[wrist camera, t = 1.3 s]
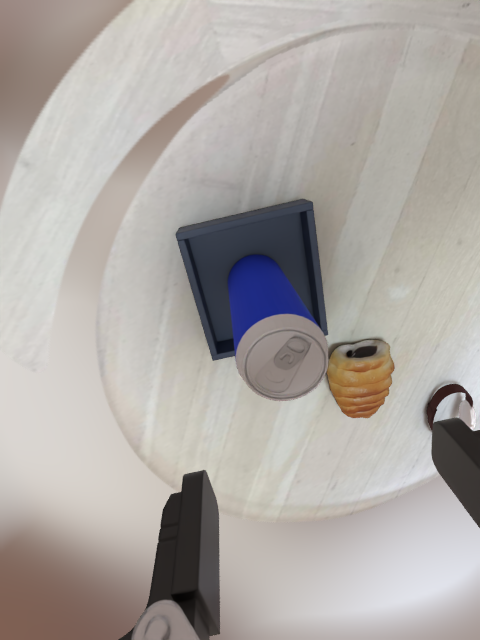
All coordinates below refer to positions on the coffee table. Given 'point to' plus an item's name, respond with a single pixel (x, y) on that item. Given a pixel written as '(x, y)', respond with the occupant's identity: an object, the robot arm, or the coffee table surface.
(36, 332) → the coffee table surface
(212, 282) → the tray
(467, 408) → the watch
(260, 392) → the beverage can
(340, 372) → the pastry
